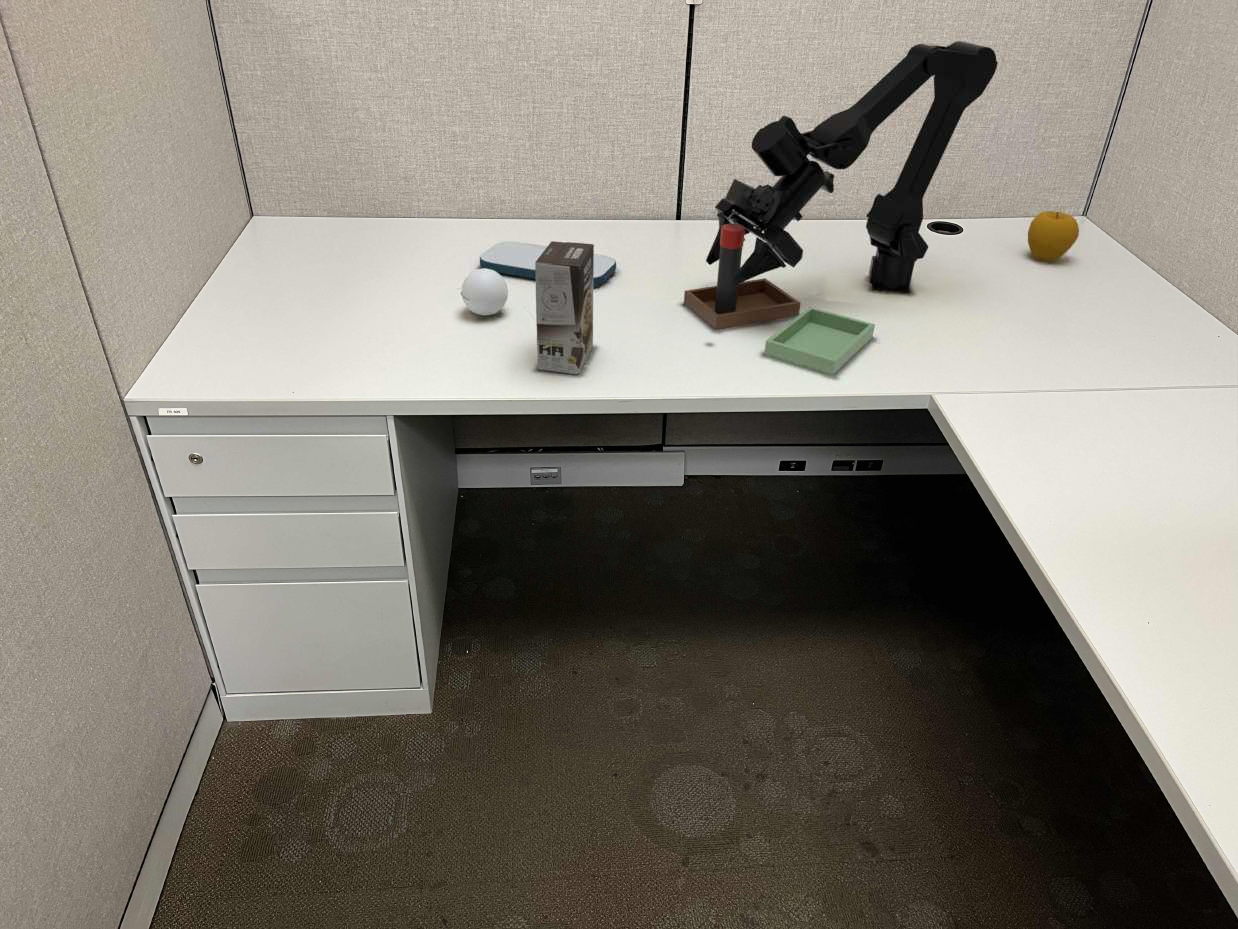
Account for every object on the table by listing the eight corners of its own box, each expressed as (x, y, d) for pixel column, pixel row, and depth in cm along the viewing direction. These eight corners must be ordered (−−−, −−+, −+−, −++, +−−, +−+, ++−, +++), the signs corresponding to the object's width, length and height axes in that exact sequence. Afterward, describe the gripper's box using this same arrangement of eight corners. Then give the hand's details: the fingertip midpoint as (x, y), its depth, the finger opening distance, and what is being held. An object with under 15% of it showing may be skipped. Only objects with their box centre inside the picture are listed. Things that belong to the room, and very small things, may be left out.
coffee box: (580, 375, 124) (580, 266, 115) (536, 370, 125) (532, 261, 116) (594, 347, 131) (595, 242, 122) (553, 342, 132) (551, 238, 123)
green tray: (807, 320, 141) (809, 306, 139) (872, 339, 136) (875, 324, 134) (763, 355, 130) (765, 340, 129) (832, 376, 125) (835, 361, 124)
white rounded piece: (515, 307, 143) (513, 263, 139) (499, 325, 137) (497, 281, 133) (458, 299, 144) (454, 256, 140) (440, 318, 139) (435, 273, 134)
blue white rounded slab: (473, 270, 155) (472, 260, 154) (502, 249, 164) (502, 239, 163) (598, 291, 148) (598, 280, 147) (621, 268, 157) (621, 257, 156)
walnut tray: (763, 291, 150) (765, 278, 149) (798, 316, 142) (800, 302, 141) (683, 304, 145) (684, 290, 144) (715, 331, 137) (716, 316, 135)
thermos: (740, 311, 142) (749, 227, 135) (727, 318, 140) (736, 232, 132) (722, 305, 144) (730, 221, 136) (709, 312, 142) (716, 227, 134)
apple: (1073, 256, 168) (1087, 210, 163) (1065, 270, 162) (1080, 223, 157) (1026, 247, 171) (1039, 202, 166) (1017, 260, 165) (1030, 213, 160)
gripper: (731, 145, 137) (664, 222, 140) (796, 177, 123) (720, 263, 126) (768, 190, 144) (703, 263, 147) (834, 226, 130) (761, 306, 133)
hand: (720, 272), depth 138 cm, fingers open, 8 cm apart
